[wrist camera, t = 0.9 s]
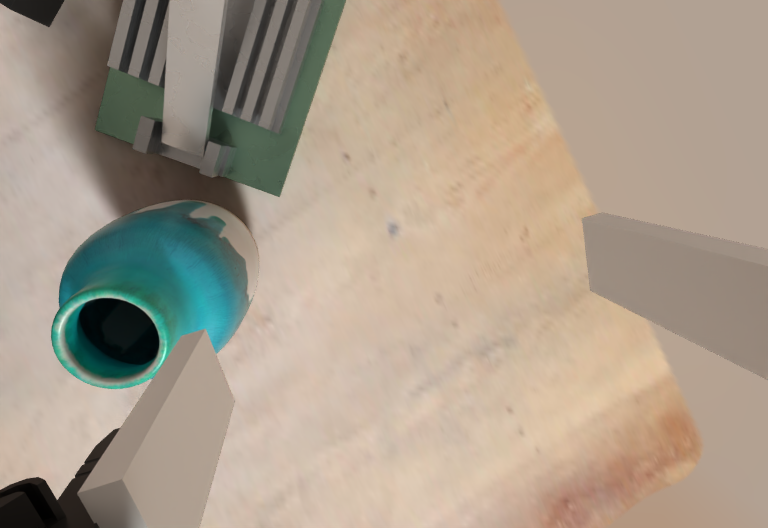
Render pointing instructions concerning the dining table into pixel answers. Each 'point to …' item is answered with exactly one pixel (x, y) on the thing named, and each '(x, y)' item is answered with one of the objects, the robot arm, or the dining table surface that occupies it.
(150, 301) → the vase
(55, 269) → the dining table surface
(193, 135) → the strap
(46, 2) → the brown labeled slab
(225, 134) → the heatsink
